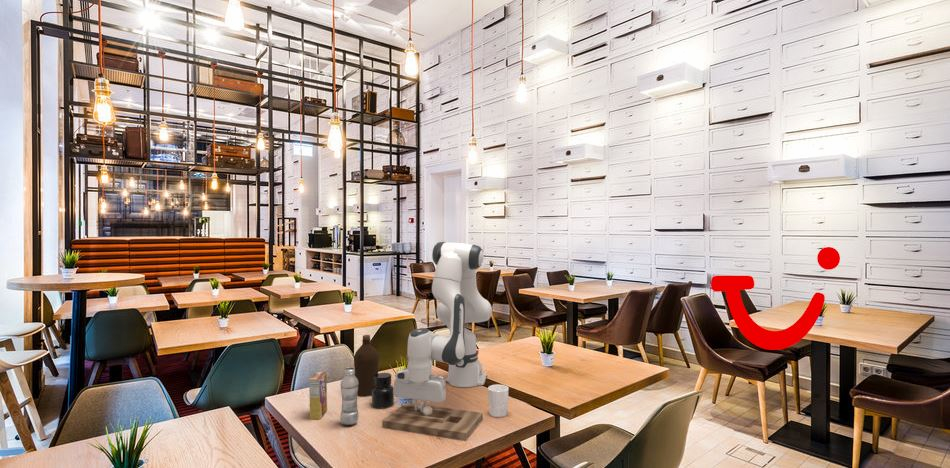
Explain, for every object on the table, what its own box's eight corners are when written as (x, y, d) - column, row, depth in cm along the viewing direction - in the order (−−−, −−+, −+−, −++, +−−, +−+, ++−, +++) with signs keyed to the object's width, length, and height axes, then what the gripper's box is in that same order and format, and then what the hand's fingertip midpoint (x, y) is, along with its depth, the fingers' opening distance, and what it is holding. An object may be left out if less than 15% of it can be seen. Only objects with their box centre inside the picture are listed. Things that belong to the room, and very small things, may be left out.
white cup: (507, 418, 167) (507, 392, 167) (486, 417, 169) (486, 390, 169) (509, 410, 175) (509, 385, 175) (489, 409, 176) (489, 383, 176)
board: (382, 427, 160) (382, 417, 160) (405, 408, 177) (405, 399, 177) (466, 440, 149) (466, 429, 149) (482, 419, 166) (482, 409, 166)
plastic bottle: (352, 418, 168) (352, 365, 168) (362, 423, 163) (362, 369, 163) (336, 423, 163) (336, 368, 163) (346, 429, 158) (345, 372, 158)
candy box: (316, 410, 176) (316, 371, 176) (327, 410, 176) (327, 371, 176) (308, 419, 167) (308, 378, 167) (320, 419, 167) (320, 378, 167)
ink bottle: (392, 399, 187) (392, 370, 187) (396, 407, 179) (396, 377, 179) (369, 402, 184) (369, 373, 184) (372, 410, 176) (372, 379, 176)
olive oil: (378, 396, 191) (378, 337, 191) (352, 397, 189) (352, 338, 189) (379, 387, 201) (379, 332, 201) (355, 389, 200) (355, 333, 200)
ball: (430, 402, 165) (435, 411, 165) (423, 406, 166) (428, 415, 166) (426, 406, 162) (431, 415, 161) (419, 410, 163) (423, 419, 162)
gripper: (448, 374, 164) (448, 411, 164) (399, 368, 171) (399, 404, 171) (441, 379, 158) (441, 418, 158) (391, 373, 165) (391, 410, 165)
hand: (419, 411), depth 165 cm, fingers closed
